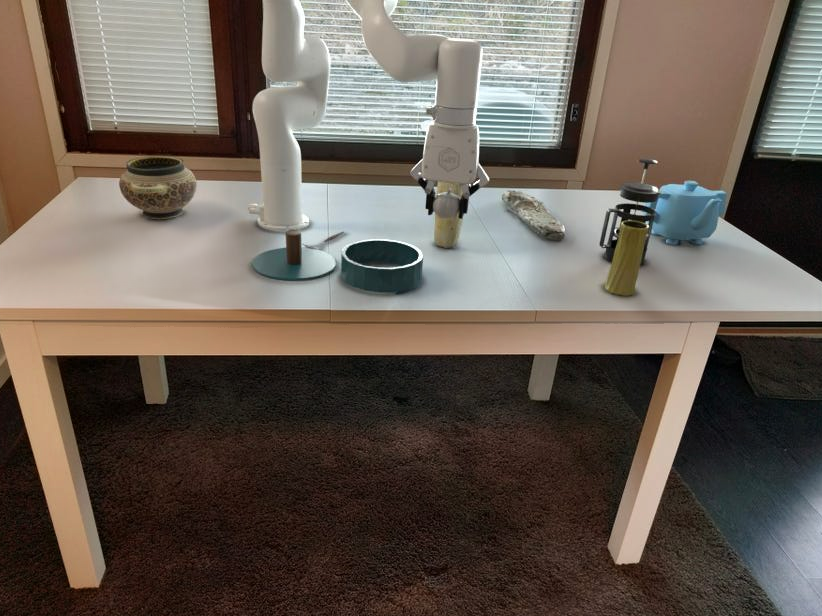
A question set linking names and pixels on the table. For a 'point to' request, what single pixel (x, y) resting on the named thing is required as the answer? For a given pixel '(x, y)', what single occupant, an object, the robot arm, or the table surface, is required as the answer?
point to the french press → (632, 193)
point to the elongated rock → (534, 214)
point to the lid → (294, 261)
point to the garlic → (446, 204)
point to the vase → (627, 258)
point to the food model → (447, 219)
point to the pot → (382, 277)
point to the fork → (326, 240)
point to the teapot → (686, 212)
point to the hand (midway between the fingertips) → (446, 214)
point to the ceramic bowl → (158, 185)
